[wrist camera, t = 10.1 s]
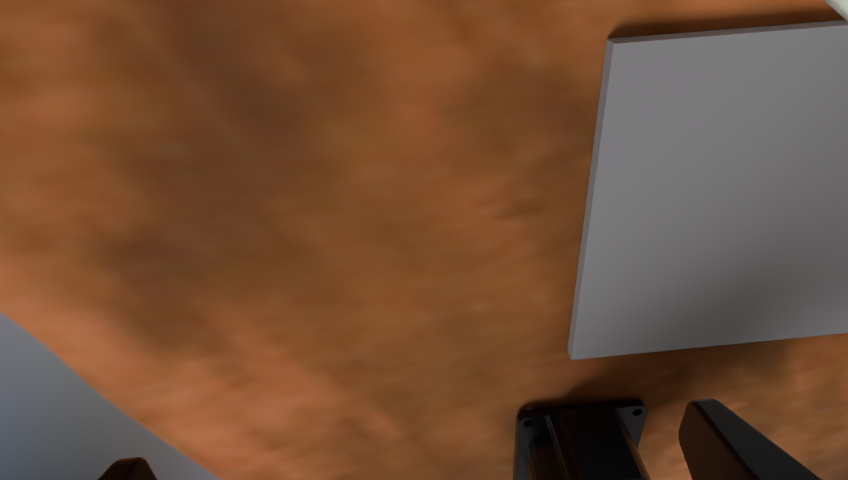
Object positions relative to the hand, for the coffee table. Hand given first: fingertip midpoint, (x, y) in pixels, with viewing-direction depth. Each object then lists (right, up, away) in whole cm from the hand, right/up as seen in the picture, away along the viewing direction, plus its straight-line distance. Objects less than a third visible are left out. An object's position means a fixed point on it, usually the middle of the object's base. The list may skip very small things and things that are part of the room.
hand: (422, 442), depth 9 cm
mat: (+13, +5, +13) cm, 19 cm away
